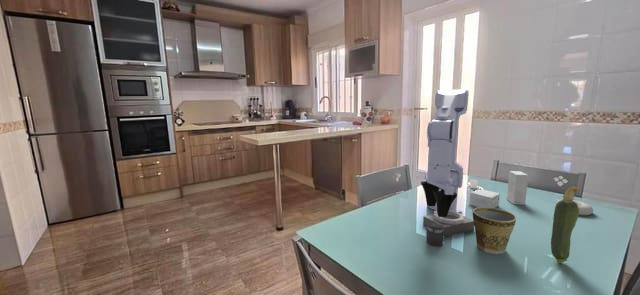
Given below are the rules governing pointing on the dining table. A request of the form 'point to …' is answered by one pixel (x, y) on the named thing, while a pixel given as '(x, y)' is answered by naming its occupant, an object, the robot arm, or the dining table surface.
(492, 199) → the small box
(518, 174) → the skincare box
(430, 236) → the lens
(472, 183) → the teacup and saucer
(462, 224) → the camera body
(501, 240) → the ceramic cup
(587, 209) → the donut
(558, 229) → the vegetable
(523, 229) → the dining table surface
